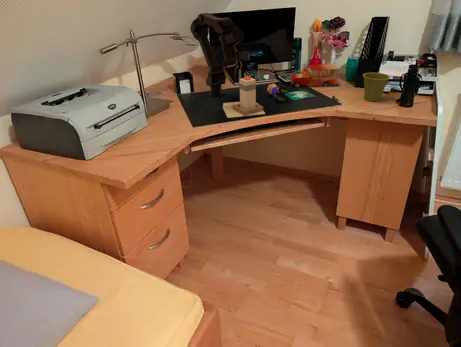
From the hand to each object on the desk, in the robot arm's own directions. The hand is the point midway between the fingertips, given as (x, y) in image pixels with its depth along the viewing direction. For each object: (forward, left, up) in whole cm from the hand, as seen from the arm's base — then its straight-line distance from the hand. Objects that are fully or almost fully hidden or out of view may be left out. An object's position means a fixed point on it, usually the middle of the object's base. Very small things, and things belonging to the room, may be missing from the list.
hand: (236, 82), depth 161 cm
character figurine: (-6, +22, -12) cm, 25 cm away
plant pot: (+8, +65, -12) cm, 66 cm away
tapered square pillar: (+8, +3, -11) cm, 14 cm away
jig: (+8, +1, -12) cm, 14 cm away
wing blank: (+2, -3, -11) cm, 11 cm away
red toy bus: (-23, +47, -12) cm, 54 cm away
